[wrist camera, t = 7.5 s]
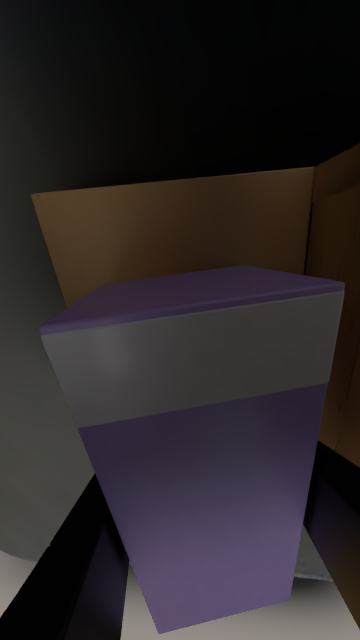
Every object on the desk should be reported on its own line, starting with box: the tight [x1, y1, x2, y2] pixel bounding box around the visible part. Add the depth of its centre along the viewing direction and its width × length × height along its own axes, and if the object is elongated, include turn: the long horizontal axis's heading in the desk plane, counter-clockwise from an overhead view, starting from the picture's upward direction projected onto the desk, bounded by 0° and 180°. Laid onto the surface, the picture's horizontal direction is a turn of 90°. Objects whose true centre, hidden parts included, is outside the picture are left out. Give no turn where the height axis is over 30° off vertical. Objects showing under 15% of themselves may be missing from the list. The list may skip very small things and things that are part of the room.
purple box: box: [39, 265, 345, 634], centre depth 7 cm, size 5×12×4 cm, turn 6°
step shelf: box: [31, 143, 360, 467], centre depth 10 cm, size 16×18×8 cm
